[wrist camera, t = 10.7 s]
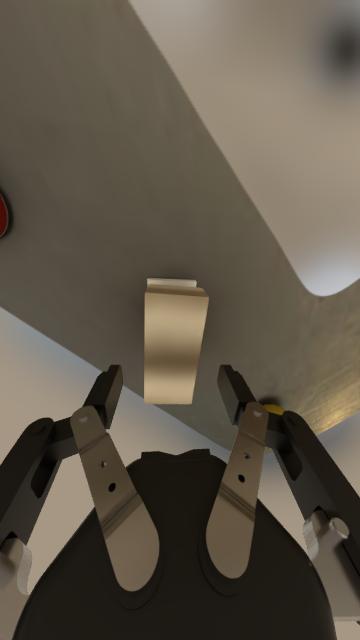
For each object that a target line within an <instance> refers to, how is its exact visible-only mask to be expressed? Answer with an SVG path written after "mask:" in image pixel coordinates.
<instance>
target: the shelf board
mask: <svg viewBox="0 0 360 640" xmlns="http://www.w3.org/2000/svg"><path fill="white" fill-rule="evenodd" d="M208 302H209V296H208V295H207V294H206V292H205V291H204V290H203V288H196V287H183V286H170V285H157V284H149V285H148V287H147V289H146V291H145V365H144V403H145V404H191V402H192V396H193V390H194V384H195V379H196V373H197V367H198V361H199V355H200V349H201V343H202V337H203V331H204V326H205V320H206V314H207V308H208Z"/></svg>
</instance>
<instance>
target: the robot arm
mask: <svg viewBox="0 0 360 640" xmlns="http://www.w3.org/2000/svg"><path fill="white" fill-rule="evenodd" d="M217 381H218V387H219V390H220V393H221V396H222V398H223V401H224V404H225V407H226V409H227V412H228V415H229V418H230V421H231V423H232V425H238V428H239V430H238V433H237V436H236V439H235V442H234V445H233V448H232V451H231V454H230V457H229V461H228V463H227V464H226V463H225V462H224V461H223V460H221V459H220V458H218V457H216V456H213V455H210V450H209V449H193V450H190V451H188V452H185V453H182V454H179V455H172V454H168V453H164V452H159V451H153V452H142V454H141V458H140V459H137V460H136V461H134V462H132V463H131V464H129V465H128V466H127V467H126V468H125V466H124V464H123V462H122V460H121V458H120V456H119V453H118V451H117V449H116V447H115V445H114V443H113V441H112V439H111V437H110V435H109V433H107V432H106V430H105V429H110V426H111V423H112V419H113V416H114V413H115V410H116V406H117V403H118V400H119V396H120V393H121V390H122V386H123V376H122V367H121V365H110V367H109V369H108V372H102V373H101V374H100V375H99V376H98V377H97V379H96V381H95V383H94V385H93V387H92V389H91V391H90V393H89V395H88V397H87V399H86V401H85V403H84V405H83V406H82V408H80V409H78V410H77V411H75V412H74V413H73V415H72V416H71V417H69V418H66V419H62V420H59V421H56V422H54V421H53V420H52V419H51V418H41V419H39V420H36V421H35V422H33V423H31V424H30V425H29V426H28V427H27V428H26V429H25V430H24V432H23V433H22V434H21V436H20V437H19V439H18V440H17V442H16V443H15V445H14V446H13V448H12V449H11V450H10V452H9V453H8V455H7V456H6V458H5V459H4V461H3V462H2V464H1V465H0V640H337V637H336V632H335V626H334V621H356V622H357V623H358V624H359V625H360V497H359V496H358V494H357V493H356V492H355V490H354V489H353V487H352V486H351V485H350V483H349V482H348V480H347V479H346V478H345V476H344V475H343V473H342V472H341V471H340V469H339V468H338V466H337V465H336V464H335V462H334V461H333V459H332V458H331V457H330V455H329V454H328V453H327V451H326V450H325V448H324V447H323V445H322V444H321V443H320V441H319V440H318V438H317V437H316V436H315V434H314V433H313V431H312V430H311V429H310V427H309V426H308V424H307V423H306V422H305V420H304V419H303V418H302V417H301V416H300V415H298V414H297V413H295V412H292V411H284V412H283V413H282V415H279V414H275V413H272V412H269V411H267V409H266V408H265V407H264V406H263V405H261V404H260V403H257V401H256V400H255V398H254V396H253V394H252V393H251V391H250V389H249V387H248V386H247V384H246V382H245V380H244V378H243V377H242V375H241V374H240V373H238V372H237V371H234V370H233V369H232V367H231V365H220V369H219V374H218V380H217ZM265 446H266V447H270V448H272V450H273V452H274V454H275V456H276V458H277V460H278V462H279V465H280V467H281V469H282V471H283V473H284V476H285V478H286V480H287V482H288V484H289V487H290V489H291V491H292V493H293V495H294V497H295V499H296V501H297V504H298V506H299V508H300V510H301V513H302V515H303V517H304V519H305V522H304V525H303V535H304V539H305V542H306V545H307V548H308V556H307V554H306V552H305V551H304V550H303V549H302V547H301V546H300V545H299V544H298V543H297V541H296V540H295V539H294V538H293V537H292V536H291V535H290V534H289V533H288V532H287V530H286V529H285V528H284V527H283V526H282V525H281V524H280V522H279V521H278V520H277V519H276V518H275V517H274V516H273V515H272V513H271V512H270V511H269V510H268V509H267V508H266V507H265V506H264V505H263V504H262V502H261V501H260V500H259V499H258V498H257V495H258V489H259V483H260V477H261V470H262V465H263V458H264V452H265ZM78 453H79V454H80V458H81V462H82V465H83V468H84V471H85V475H86V478H87V481H88V485H89V488H90V492H91V495H92V498H93V501H94V505H95V507H94V508H93V510H92V511H91V512H90V514H89V515H88V516H87V517H86V519H85V520H84V521H83V522H82V524H81V525H80V526H79V528H78V529H77V530H76V532H75V533H74V534H73V536H72V537H71V538H70V539H69V541H68V542H67V543H66V545H65V546H64V547H63V549H62V550H61V551H60V552H59V554H58V555H57V556H56V558H55V559H54V560H53V562H52V563H51V564H50V566H49V567H48V568H47V569H46V571H45V572H44V573H43V575H42V576H41V578H40V579H39V581H38V582H37V584H36V585H35V587H34V589H33V591H32V592H31V594H30V595H28V593H27V580H28V575H29V572H30V569H31V565H32V554H31V551H30V550H29V549H28V548H27V547H26V545H27V542H28V540H29V538H30V535H31V533H32V531H33V528H34V525H35V523H36V521H37V519H38V516H39V514H40V512H41V509H42V507H43V504H44V502H45V500H46V497H47V495H48V492H49V490H50V488H51V485H52V483H53V481H54V478H55V476H56V473H57V471H58V469H59V466H60V464H61V462H62V459H65V458H67V457H70V456H72V455H75V454H78Z"/></svg>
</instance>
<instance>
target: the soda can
mask: <svg viewBox="0 0 360 640" xmlns="http://www.w3.org/2000/svg"><path fill="white" fill-rule="evenodd" d="M8 221H9V217H8V210H7V206H6V204H5V201H4V199H3V197H2V195H1V193H0V237H1V236H2V235H3V234H4V233H5V232H6V230H7V227H8Z"/></svg>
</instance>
